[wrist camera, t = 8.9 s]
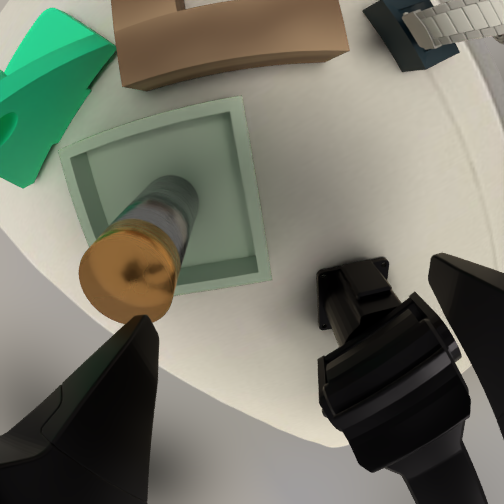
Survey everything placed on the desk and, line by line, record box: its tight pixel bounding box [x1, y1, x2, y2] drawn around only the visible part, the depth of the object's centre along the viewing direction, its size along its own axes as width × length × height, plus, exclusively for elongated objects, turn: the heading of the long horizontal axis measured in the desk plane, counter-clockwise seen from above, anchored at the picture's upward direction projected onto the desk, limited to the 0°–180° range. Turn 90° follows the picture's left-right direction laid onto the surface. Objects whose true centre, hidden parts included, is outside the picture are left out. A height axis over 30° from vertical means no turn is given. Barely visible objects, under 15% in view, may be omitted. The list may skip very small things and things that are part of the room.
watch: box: [363, 0, 504, 72], centre depth 9 cm, size 6×8×11 cm
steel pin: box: [79, 175, 199, 324], centre depth 15 cm, size 4×4×10 cm
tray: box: [58, 95, 272, 296], centre depth 18 cm, size 12×12×3 cm
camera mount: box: [0, 8, 116, 188], centre depth 10 cm, size 12×8×10 cm, turn 136°
